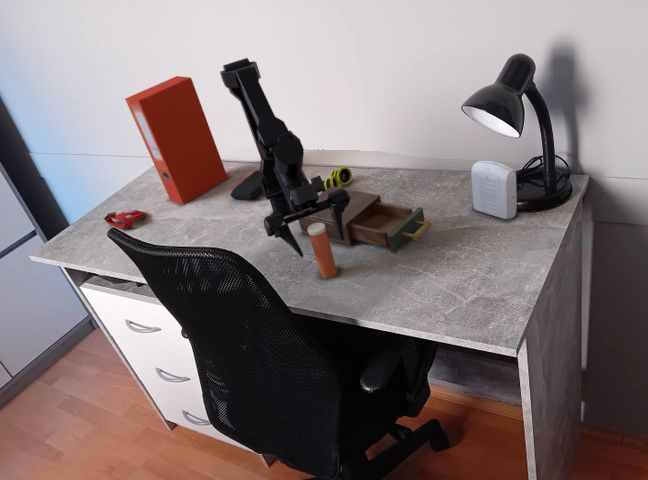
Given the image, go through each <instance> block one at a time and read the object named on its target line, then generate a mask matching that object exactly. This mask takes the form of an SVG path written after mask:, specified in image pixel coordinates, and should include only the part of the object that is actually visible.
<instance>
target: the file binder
mask: <svg viewBox="0 0 648 480" xmlns="http://www.w3.org/2000/svg"><path fill="white" fill-rule="evenodd" d="M195 87H196V86H195V84H194V82H193V79H192V77H189V76H178V75H176V76H173V77H171V78H169V79H167V80H164V81H162V82H160V83H157V84H155V85H153V86H151V87H148V88H146V89H144V90H142V91H138V92H137V93H134V94H132V95H130V96H128V97H126V98H124V100H125V102H126V104H127V106H128V109H129V112H130V113H131V115H132V118H133V119H134V122H135V124H136V127H137V129H138V131H139V133H140V135H141V138H142V140H143V142H144V145H145V147H146V149H147V151H148V153H149V156H150V158H151V160H152V163H153V164H154V167H155V169H156V171H157V174H158V175H159V178H160V180H161V182H162V185H163V187H164V189H165V191H166V194H167V196H168V199H169V200H170V201H173V202H175V203H178V204H181V205H185V204H187V203H189V202H191V201H192V200H194V199H196V198H197V197H199V196H200V195H202V194H204V193H205V192H207V191H209V190H210V189H212V188H214V187H215V186H217V185H218V184H220V183H222V182H224V181H225V180H227V179H228V175H227V172H226V169H225V166H224V164H223V160H222V158H221V155H220V153H219V149H218V147H217V145H216V142H215V138H214V136H213V133H212V131H211V128H210V125H209V123H208V120H207V117H206V115H205V112H204V108H203V106H202V104H201V101H200V98H199V95H198V93H197V89H196V88H195Z"/></svg>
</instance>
